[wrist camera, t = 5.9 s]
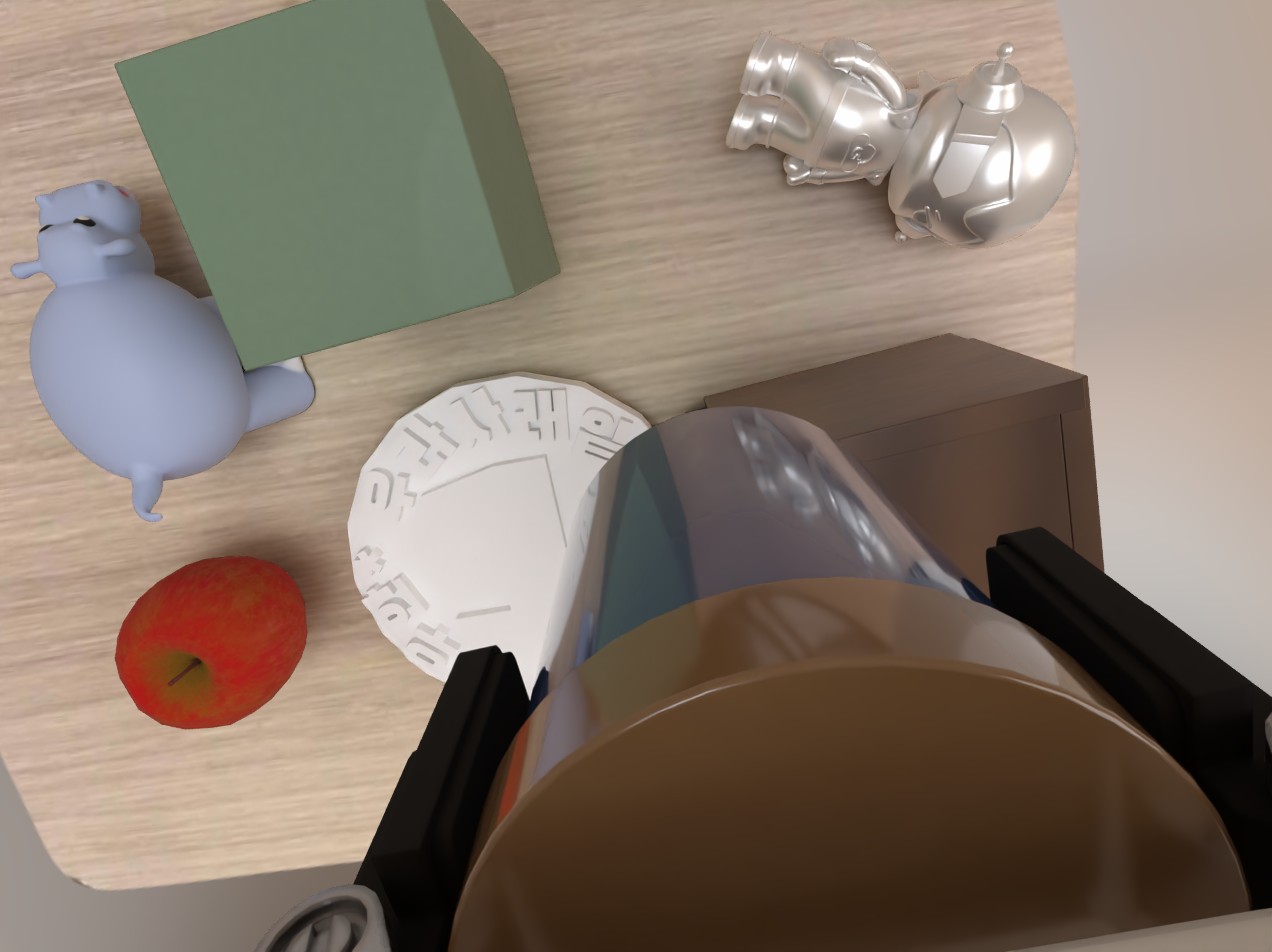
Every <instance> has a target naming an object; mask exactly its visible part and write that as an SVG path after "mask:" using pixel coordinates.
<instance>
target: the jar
mask: <svg viewBox="0 0 1272 952" xmlns="http://www.w3.org/2000/svg"><path fill="white" fill-rule="evenodd" d="M1248 911H1252V902H1251V894H1250V891H1249V887H1248V884H1247V880H1246V877H1245V873H1244V870H1243V866H1242V863H1241V859H1240V856H1239V853H1238V850H1237V848H1236V846H1235V844H1234V842H1233V840H1232V838H1231V836H1230V834H1229V832H1228V830H1227V828H1226V826H1225V824H1224V822H1223V820H1222V818H1221V816H1220V814H1219V812H1218V810H1217V809H1216V808H1215V806H1214V805H1213V804H1212V802H1211V801H1210V800H1209V798H1208V797H1207V796H1206V794H1205V793H1204V792H1203V790H1202V789H1201V788H1200V786H1199V785H1198V783H1197V782H1196V781H1195V779H1194V778H1193V777H1192V775H1191V774H1190V773H1189V772H1188V771H1187V770H1186V769H1185V768H1184V767H1183V766H1182V765H1181V764H1180V763H1179V762H1178V761H1177V760H1176V759H1175V758H1174V757H1173V756H1172V755H1171V754H1170V753H1169V752H1168V751H1167V750H1166V749H1165V748H1164V747H1163V746H1162V745H1161V744H1160V743H1159V742H1158V741H1157V740H1156V739H1155V738H1154V737H1153V736H1152V735H1151V734H1150V733H1149V732H1148V731H1147V730H1146V729H1145V728H1144V727H1143V726H1142V725H1141V724H1140V723H1139V722H1138V721H1137V720H1136V719H1135V718H1134V717H1133V716H1132V715H1131V714H1130V713H1129V712H1128V711H1127V710H1126V709H1125V708H1124V707H1123V706H1122V705H1121V704H1120V703H1119V702H1118V701H1116V700H1115V699H1114V698H1113V697H1112V696H1111V695H1110V694H1109V693H1108V692H1107V691H1106V690H1105V689H1104V688H1103V687H1102V686H1101V685H1100V684H1099V683H1098V682H1097V681H1096V680H1095V679H1094V678H1093V677H1092V676H1091V675H1090V674H1089V673H1088V672H1087V671H1086V670H1085V669H1084V668H1083V667H1082V666H1081V665H1080V664H1079V663H1078V662H1076V661H1075V660H1074V659H1073V658H1072V657H1071V656H1070V655H1069V654H1068V653H1067V652H1066V651H1064V650H1063V649H1061V648H1060V647H1058V646H1057V645H1056V644H1054V643H1053V642H1051V641H1050V640H1048V639H1047V638H1046V637H1044V636H1043V635H1041V634H1040V633H1038V632H1037V631H1036V630H1034V629H1033V628H1031V627H1029V626H1027V625H1025V624H1023V623H1022V622H1020V621H1018V620H1016V619H1014V618H1012V617H1010V616H1008V615H1006V614H1004V613H1002V612H1001V611H1000V610H999V609H998V607H997V606H996V605H995V604H994V603H993V602H992V601H991V600H990V599H989V598H988V597H987V596H986V595H985V594H984V593H983V591H982V590H981V589H980V588H979V587H978V586H977V585H976V584H975V583H974V582H973V581H972V580H971V579H970V578H969V577H968V575H967V574H966V573H965V572H964V571H963V570H962V569H961V568H960V567H959V566H958V565H957V564H956V563H955V562H954V560H953V559H952V558H951V557H950V556H949V555H948V554H947V553H946V552H945V551H944V550H943V549H942V548H941V547H940V546H939V544H938V543H937V542H936V541H935V540H934V539H933V538H932V537H931V536H930V535H929V534H928V533H927V532H926V531H925V529H924V528H923V527H922V526H921V525H920V524H919V523H918V522H917V521H916V520H915V519H914V518H913V517H912V516H911V515H910V513H909V512H908V511H907V510H906V509H905V508H904V507H903V506H902V505H901V504H900V503H899V502H898V501H897V500H896V499H895V497H894V496H893V495H892V494H891V493H890V492H889V491H888V490H887V489H886V488H885V487H884V486H883V485H882V484H881V482H880V481H879V480H878V479H877V478H876V477H875V476H874V475H873V474H872V473H871V472H870V471H869V470H868V469H867V468H866V466H865V465H864V464H863V463H862V462H861V461H860V460H859V459H858V458H857V457H856V456H855V455H854V454H853V453H852V452H851V451H850V450H849V449H848V448H847V447H846V446H845V445H843V444H842V443H841V442H840V441H838V440H837V439H836V438H834V437H833V436H831V435H830V434H829V433H827V432H826V431H824V430H822V429H821V428H819V427H817V426H815V425H813V424H811V423H809V422H807V421H805V420H803V419H800V418H797V417H794V416H791V415H789V414H786V413H783V412H778V411H773V410H769V409H764V408H756V407H744V406H731V407H715V408H709V409H703V410H697V411H693V412H689V413H686V414H683V415H680V416H676V417H673V418H671V419H668V420H666V421H664V422H662V423H660V424H657V425H655V426H653V427H651V428H649V429H648V430H646V431H645V432H643V433H641V434H640V435H638V436H636V437H635V438H633V439H632V440H631V441H629V442H628V443H627V444H626V445H625V446H623V447H622V448H621V449H620V450H618V451H617V452H616V453H615V454H614V455H613V456H612V457H611V458H610V459H609V460H608V461H607V463H606V464H605V465H604V466H603V467H602V468H601V469H600V470H599V472H598V473H597V475H596V476H595V477H594V479H593V480H592V482H591V483H590V484H589V486H588V488H587V490H586V492H585V494H584V495H583V497H582V499H581V501H580V503H579V505H578V508H577V511H576V514H575V517H574V519H573V522H572V526H571V530H570V534H569V539H568V543H567V547H566V551H565V555H564V560H563V564H562V568H561V572H560V576H559V581H558V585H557V589H556V593H555V597H554V602H553V606H552V610H551V614H550V619H549V623H548V627H547V631H546V635H545V640H544V644H543V648H542V652H541V656H540V661H539V665H538V669H537V673H536V677H535V682H534V686H533V690H532V694H531V698H530V703H529V707H528V711H527V715H526V719H525V723H524V725H523V726H522V727H521V729H520V730H519V731H518V733H517V734H516V736H515V738H514V739H513V741H512V743H511V745H510V747H509V748H508V750H507V752H506V754H505V756H504V757H503V759H502V761H501V763H500V765H499V766H498V768H497V771H496V774H495V776H494V779H493V782H492V785H491V787H490V790H489V793H488V795H487V798H486V801H485V804H484V807H483V811H482V815H481V818H480V822H479V825H478V829H477V833H476V836H475V840H474V844H473V847H472V851H471V855H470V858H469V862H468V866H467V869H466V873H465V877H464V880H463V884H462V887H461V891H460V895H459V898H458V902H457V906H456V909H455V913H454V918H453V924H452V929H451V934H450V940H449V945H448V950H447V952H1008V951H1014V950H1020V949H1026V948H1032V947H1038V946H1044V945H1050V944H1056V943H1062V942H1068V941H1074V940H1080V939H1086V938H1092V937H1098V936H1104V935H1110V934H1116V933H1122V932H1128V931H1134V930H1140V929H1146V928H1152V927H1158V926H1164V925H1170V924H1176V923H1182V922H1188V921H1194V920H1200V919H1206V918H1212V917H1218V916H1224V915H1230V914H1236V913H1242V912H1248Z"/></svg>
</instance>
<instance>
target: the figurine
mask: <svg viewBox="0 0 1272 952" xmlns="http://www.w3.org/2000/svg"><path fill="white" fill-rule="evenodd" d="M1013 52H1014V46H1013V45H1012V44H1011V43H1009V42H1005V43H1003V44H1001V45H1000V46H999V48H998V50H997V55H998V57H999V60H998V61H988V62H984V63H981V64H979V65H978V66H976V67H975V68H974V69H973V70H972V71H971V72H970V73H969V74H968V75H967V76H964V77H957V78H953V79H950V80H947V81H945V82H943V83H940V82H939V81H938V80H936V79H935V78H934V77H932V76H931V75H930V74H928V73H927V72H925V71H922V70H921V71H919V73H918V84H917V88H913V89H909V90H906V89H905V87H904V85H903V83H902V82H901V80H900V79H899V77H898V76H897V75H896V73H895V72H894V71H893V69H892V68H891V67H890V66H889V65H888V64H887V63H886V62H885V61H884V60H883V59H882V58H881V57H880V56H878V55H879V52H878V51H875V50H873V49H872V48H871V47H870V46H869V45H867V44H865V43H863V42H860V41H854V40H851V39H848V38H845V37H835V38H833V39H830V40H829V41H827V42H826V43H825V44H824V46H823V48H822V54H820V53H817V52H813V51H810V50H808V49H805V48H804V44H803V43H800V44H799V45H798V44H796V43H793V42H791V41H788V40H785V39H783V38H780V37H777V36H775V35H772V33H771V32H769V31H766V30H764V31H762V33H761V34H760V36H759V37H758V39H757V40H756V42H755V44H754V46H753V48H752V50H751V53H750V55H749V58H748V60H747V63H746V66H745V69H744V72H743V76H742V79H741V83H740V90H739V91H740V93H742V94H743V96H742V98H741V100H740V102H739V104H738V106H737V109H736V111H735V113H734V116H733V118H732V121H731V124H730V127H729V130H728V134H727V138H726V146H727V147H730V148H737V149H740V150H746V149H748V148H749V147H750V146H751V145H752V144H763V145H766V146H765V147H766V148H769V147H770V146H772V147H774V148H776V149H778V150H780V151H782V152H784V153H787V155H786V156H785V158H784V161H783V167H784V169H785V171H786V173H787V174H788V176H787V183H788V184H789V185H792V186H795V185H799V184H802V183H805V182H808V183H813V184H819V185H822V184H824V183H834V182H846V181H853V180H858V179H862V178H866V179H868V181H869V182H870V183H871V184H873V185H879V184H881V183H882V181H883V179H884V177H885V176H886V175H887V173H888V172H889V171H890V170H891V168H892V171H891V175H890V179H889V186H888V201H889V206H890V208H891V210H892V212H893V213H895V221H896V224H897V226H898V228H899V229H900V231H897V232H896V233H895V236H894V239H895V241H896V242H898V243H901V242H904V241H905V240H906V238H907V236H909V237H911V238H915V239H919V238H924V237H927V236H931V235H933V236H934V237H936V238H937V239H938V240H940V241H942V242H944V243H946V244H949V245H952V246H956V247H961V248H968V249H983V248H989V247H993V246H997V245H1000V244H1003V243H1005V242H1008V241H1011V240H1013V239H1015V238H1017V237H1019V236H1021V235H1023V234H1024V233H1026V232H1027V231H1029V230H1030V229H1032V228H1033V227H1034V226H1035V225H1036V224H1037V223H1039V222H1040V221H1041V220H1042V219H1043V218H1044V217H1045V215H1046V214H1047V213H1048V212H1049V211H1050V209H1051V208H1052V207H1053V205H1054V204H1055V202H1056V201H1057V199H1058V198H1059V196H1060V194H1061V193H1062V191H1063V189H1064V187H1065V185H1066V183H1067V181H1068V178H1069V176H1070V173H1071V170H1072V167H1073V164H1074V159H1075V152H1076V143H1075V135H1074V131H1073V128H1072V125H1071V122H1070V120H1069V118H1068V116H1067V115H1066V113H1065V111H1064V110H1063V109H1062V107H1061V106H1060V105H1059V104H1058V103H1057V102H1056V101H1054V100H1053V99H1052V98H1051V97H1049V96H1048V95H1046V94H1044V93H1043V92H1041V91H1039V90H1037V89H1035V88H1033V87H1030V86H1028V85H1025V84H1022V82H1021V75H1020V73H1019V71H1018V70H1017V69H1016V68H1015V67H1014V66H1012V65H1010V64H1008V63H1005V61H1006V59H1008V58H1010V57H1011V56H1012V54H1013ZM771 95H774V96H778V97H780V98H777V97H774V96H771Z"/></svg>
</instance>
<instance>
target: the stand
mask: <svg viewBox="0 0 1272 952" xmlns="http://www.w3.org/2000/svg"><path fill="white" fill-rule="evenodd" d="M115 68H116V70H117V73H118V75H119V77H120V80H121V82H122V84H123V87H124V89H125V91H126V94H127V96H128V98H129V101H130V103H131V105H132V108H133V110H134V112H135V115H136V117H137V119H138V122H139V124H140V126H141V129H142V131H143V133H144V136H145V138H146V140H147V143H148V145H149V147H150V150H151V152H152V154H153V157H154V159H155V161H156V164H157V166H158V168H159V171H160V173H161V175H162V178H163V180H164V182H165V185H166V187H167V189H168V192H169V194H170V197H171V199H172V201H173V204H174V206H175V208H176V211H177V213H178V215H179V218H180V220H181V222H182V225H183V227H184V229H185V232H186V234H187V236H188V239H189V241H190V243H191V246H192V248H193V250H194V253H195V255H196V257H197V260H198V262H199V264H200V267H201V269H202V271H203V274H204V276H205V278H206V281H207V283H208V285H209V288H210V290H211V292H212V295H213V297H214V299H215V302H216V304H217V306H218V309H219V311H220V313H221V316H222V318H223V320H224V323H225V325H226V327H227V330H228V332H229V334H230V337H231V339H232V341H233V344H234V346H235V348H236V351H237V353H238V356H239V358H240V360H241V363H242V365H243V367H244V369H245V370H246V371H249V370H253V369H256V368H260V367H263V366H267V365H271V364H274V363H278V362H281V361H285V360H289V359H292V358H296V357H299V356H303V355H307V354H310V353H314V352H318V351H321V350H325V349H328V348H332V347H336V346H339V345H343V344H346V343H350V342H354V341H357V340H361V339H364V338H368V337H372V336H375V335H379V334H382V333H386V332H390V331H393V330H397V329H401V328H404V327H408V326H411V325H415V324H419V323H422V322H426V321H429V320H433V319H437V318H440V317H444V316H447V315H451V314H455V313H458V312H462V311H465V310H469V309H473V308H476V307H480V306H484V305H487V304H491V303H494V302H498V301H502V300H505V299H509V298H512V297H515V296H517V295H519V294H521V293H523V292H525V291H526V290H528V289H530V288H532V287H534V286H536V285H538V284H540V283H542V282H543V281H545V280H547V279H549V278H551V277H553V276H555V275H557V274H558V273H560V268H559V264H558V261H557V257H556V254H555V250H554V247H553V243H552V240H551V236H550V233H549V229H548V226H547V222H546V219H545V215H544V212H543V208H542V205H541V202H540V198H539V195H538V191H537V188H536V184H535V181H534V177H533V174H532V170H531V167H530V163H529V160H528V156H527V153H526V149H525V146H524V142H523V139H522V136H521V132H520V129H519V125H518V122H517V118H516V115H515V111H514V108H513V104H512V101H511V97H510V94H509V90H508V87H507V83H506V80H505V76H504V73H503V70H502V68H501V67H500V66H499V65H498V63H497V62H496V61H495V60H494V59H493V58H492V57H491V55H490V54H489V53H488V52H487V51H486V50H485V48H484V47H483V46H482V45H481V44H480V43H479V42H478V40H477V39H476V38H475V37H474V36H473V35H472V34H471V32H470V31H469V30H468V29H467V28H466V27H465V26H464V24H463V23H462V22H461V21H460V20H459V19H458V17H457V16H456V15H455V14H454V13H453V12H452V11H451V9H450V8H449V7H448V6H447V5H446V4H445V3H444V1H443V0H312V1H309V2H306V3H302V4H299V5H296V6H293V7H290V8H287V9H284V10H281V11H277V12H274V13H271V14H268V15H265V16H262V17H259V18H256V19H252V20H249V21H246V22H243V23H240V24H237V25H234V26H231V27H228V28H224V29H221V30H218V31H215V32H212V33H209V34H206V35H203V36H199V37H196V38H193V39H190V40H187V41H184V42H181V43H178V44H174V45H171V46H168V47H165V48H162V49H159V50H156V51H153V52H149V53H146V54H143V55H140V56H137V57H134V58H131V59H128V60H124V61H121V62H118V63H116V64H115Z"/></svg>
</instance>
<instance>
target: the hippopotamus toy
mask: <svg viewBox="0 0 1272 952" xmlns="http://www.w3.org/2000/svg"><path fill="white" fill-rule="evenodd" d="M35 200H36V202H37V204H38V205H39V207H40V211H39V223H40V226H41V228H40V231H39V234H38V236H37V241H38V253H39V258H38V259H37V260H36V261H32V262H23V263H16V264H14V265H13V266H12V267H11V273H12V275H13V276H15V277H16V278H19V279H26V278H28V277H30V276H31V275H33V274H35V273H39V272H42V273H45V274H46V275H47V276H48V277H49V278H50V279H51V280H52V281H53V282H54V283H55V285H56V288H55V289H54V290H53V291H52V292H51V293H50V294H49V295H48V297H47V298H46V299H45V301H44V302H43V304H42V305H41V307H40V309H39V311H38V313H37V315H36V318H35V320H34V324H33V327H32V331H31V337H30V364H31V370H32V375H33V379H34V383H35V386H36V389H37V391H38V394H39V396H40V399H41V401H42V403H43V405H44V407H45V409H46V410H47V412H48V414H49V415H50V417H51V419H52V420H53V422H54V423H55V425H56V426H57V427H58V429H59V430H60V431H61V432H62V434H63V435H64V436H65V437H66V438H67V440H68V441H69V442H70V443H71V444H72V445H73V446H74V447H75V448H76V449H77V450H78V451H79V452H81V453H82V454H83V455H84V456H85V457H87V458H88V459H89V460H91V461H92V462H93V463H95V464H96V465H98V466H100V467H101V468H103V469H105V470H107V471H109V472H111V473H113V474H115V475H118V476H121V477H124V478H128V479H131V481H132V486H133V492H132V500H133V506H134V509H135V511H136V513H137V514H138V515H139V516H140V517H141V518H142V519H144V520H146V521H149V522H157V521H160V520H161V519H162V518H163V516H162V515H161V514H157V513H150V511H151V509H152V508H153V507H154V505H155V504H156V502H157V501H158V499H159V497H160V495H161V492H162V486H163V481H165V480H173V479H178V478H183V477H187V476H190V475H194V474H197V473H200V472H202V471H205V470H207V469H209V468H211V467H213V466H214V465H216V464H218V463H219V462H221V461H222V460H223V459H224V458H226V457H227V456H228V455H229V454H230V453H231V452H232V451H233V449H234V448H235V447H236V445H237V444H238V442H239V440H240V438H241V436H242V435H243V434H245V433H247V432H250V431H253V430H256V429H258V428H261V427H264V426H267V425H270V424H272V423H275V422H278V421H281V420H283V419H286V418H289V417H292V416H295V415H297V414H299V413H301V412H303V411H305V410H306V409H307V408H308V407H309V406H310V405H311V403H312V401H313V398H314V387H313V383H312V380H311V378H310V377H309V375H308V374H307V373H306V371H305V369H304V366H303V363H302V360H301V358H300V356H299V357H296V358H292V359H289V360H285V361H281V362H278V363H274V364H271V365H267V366H263V367H260V368H256V369H253V370H249V371H246V372H245V373H243V371H242V368H241V364H240V361H239V358H238V355H237V353H236V352H237V351H236V348H235V346H234V344H233V341H232V339H231V337H230V334H229V332H228V330H227V327H226V325H225V323H224V320H223V318H222V316H221V313H220V311H219V309H218V306H217V304H216V302H215V299H214V297H213V296H207V297H202V298H196V297H195V296H193V295H192V294H191V293H189V292H188V291H186V290H185V289H183V288H181V287H180V286H178V285H176V284H174V283H172V282H170V281H168V280H166V279H164V278H161V277H159V276H156V275H155V262H154V258H153V255H152V252H151V249H150V247H149V245H148V244H147V242H146V240H145V239H144V238H143V236H142V235H141V233H140V226H141V221H142V211H141V206H140V203H139V201H138V200H137V198H136V197H135V196H134V195H133V194H132V193H131V192H130V191H129V190H127V189H126V188H124V187H122V186H114V185H112V184H111V183H109V182H107V181H104V180H95V181H90V182H86V183H82V184H77V185H73V186H69V187H65V188H62V189H58V190H56V191H54V192H52V193H50V194H45V195H39V196H36V197H35Z"/></svg>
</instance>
